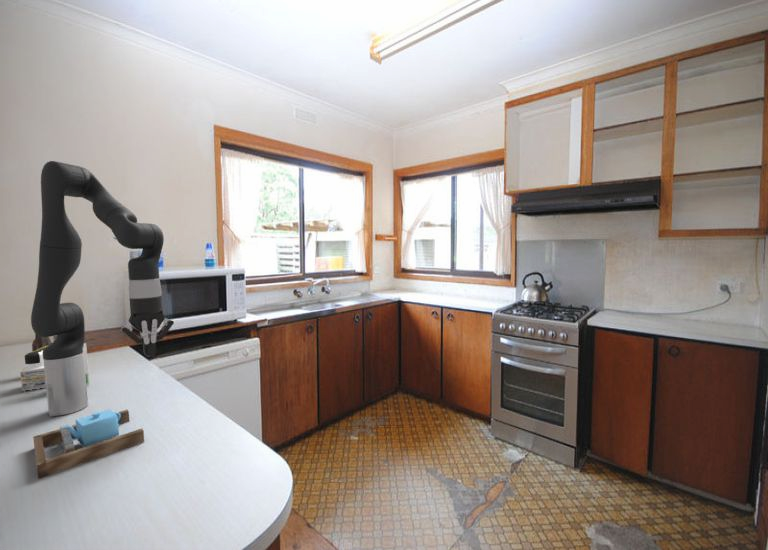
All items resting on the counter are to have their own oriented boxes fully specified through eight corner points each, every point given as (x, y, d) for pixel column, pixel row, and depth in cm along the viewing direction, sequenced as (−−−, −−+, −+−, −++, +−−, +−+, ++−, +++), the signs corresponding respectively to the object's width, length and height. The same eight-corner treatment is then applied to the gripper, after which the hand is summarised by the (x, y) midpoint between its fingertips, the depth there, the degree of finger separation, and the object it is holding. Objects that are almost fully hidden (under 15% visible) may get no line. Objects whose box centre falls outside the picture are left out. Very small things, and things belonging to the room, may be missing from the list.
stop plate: (66, 462, 82) (65, 446, 82) (61, 442, 91) (59, 427, 91) (75, 459, 84) (73, 443, 83) (69, 440, 92) (67, 425, 92)
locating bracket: (38, 478, 77) (36, 465, 77) (34, 448, 90) (33, 436, 89) (144, 441, 91) (143, 430, 91) (128, 419, 104) (127, 409, 103)
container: (21, 392, 127) (17, 356, 126) (30, 384, 134) (27, 351, 133) (50, 387, 131) (46, 352, 130) (57, 380, 137) (54, 347, 136)
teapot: (66, 458, 85) (63, 427, 84) (60, 450, 89) (57, 420, 88) (126, 436, 94) (123, 408, 94) (118, 429, 98) (115, 403, 98)
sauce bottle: (41, 377, 142) (36, 328, 140) (29, 376, 143) (24, 327, 141) (59, 371, 148) (54, 324, 146) (47, 371, 149) (42, 324, 148)
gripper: (168, 291, 107) (172, 348, 108) (113, 296, 97) (118, 359, 99) (176, 293, 102) (180, 353, 103) (119, 299, 92) (124, 364, 93)
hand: (150, 356), depth 101 cm, fingers closed
